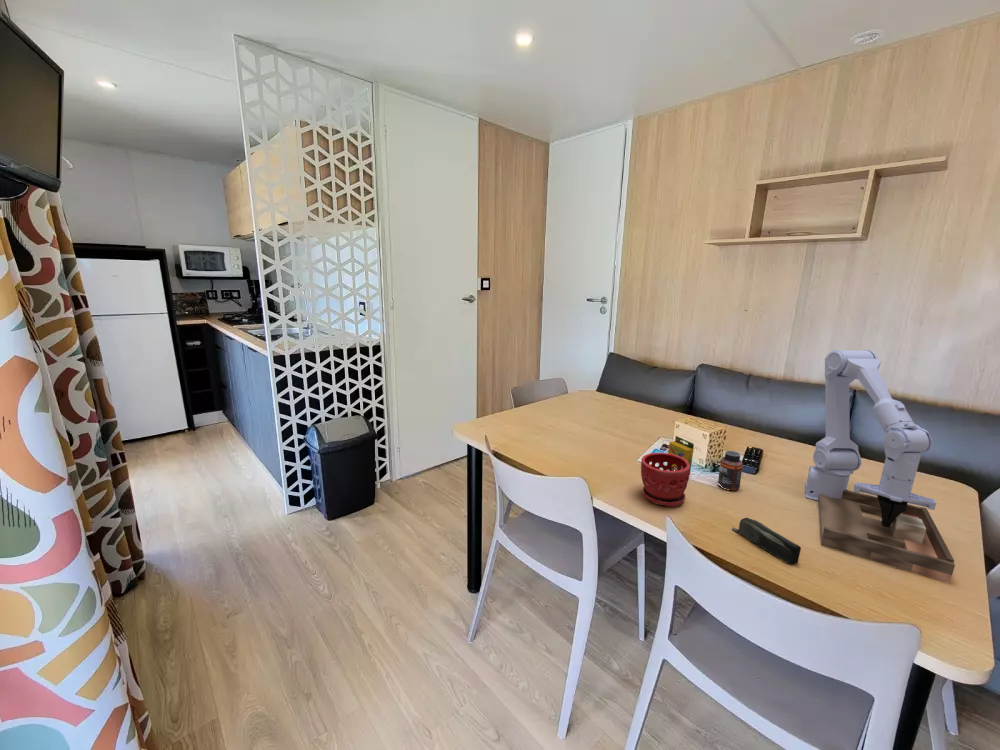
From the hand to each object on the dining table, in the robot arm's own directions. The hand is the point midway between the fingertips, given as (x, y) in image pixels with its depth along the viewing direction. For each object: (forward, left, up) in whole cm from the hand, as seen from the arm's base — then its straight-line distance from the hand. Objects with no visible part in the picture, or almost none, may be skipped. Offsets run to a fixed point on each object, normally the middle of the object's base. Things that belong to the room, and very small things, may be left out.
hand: (885, 525), depth 104 cm
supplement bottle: (-35, +5, -3) cm, 36 cm away
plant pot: (-50, -14, -3) cm, 52 cm away
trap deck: (-2, 0, -3) cm, 4 cm away
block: (+4, 0, -1) cm, 4 cm away
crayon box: (-50, +6, -3) cm, 51 cm away
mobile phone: (-24, -22, -4) cm, 33 cm away
